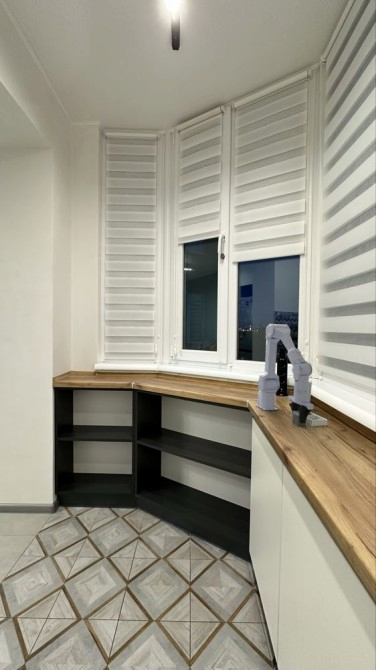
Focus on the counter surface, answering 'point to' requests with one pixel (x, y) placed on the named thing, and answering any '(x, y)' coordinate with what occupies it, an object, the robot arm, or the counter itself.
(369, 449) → the counter surface
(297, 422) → the blue plug
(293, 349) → the robot arm
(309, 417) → the rack
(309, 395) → the skincare box
